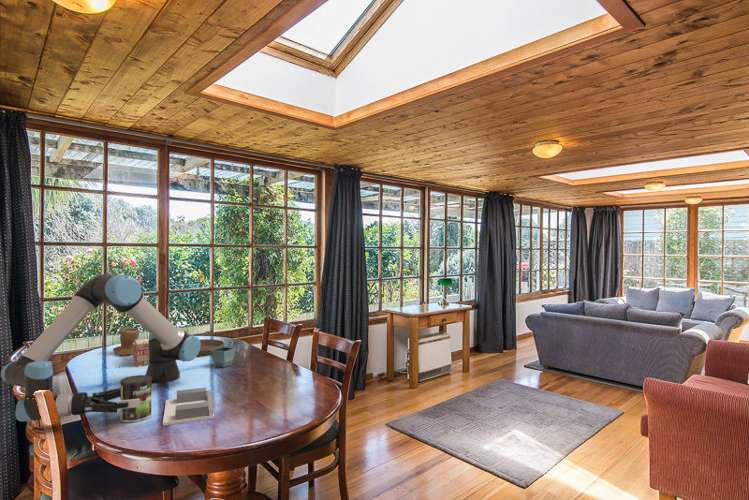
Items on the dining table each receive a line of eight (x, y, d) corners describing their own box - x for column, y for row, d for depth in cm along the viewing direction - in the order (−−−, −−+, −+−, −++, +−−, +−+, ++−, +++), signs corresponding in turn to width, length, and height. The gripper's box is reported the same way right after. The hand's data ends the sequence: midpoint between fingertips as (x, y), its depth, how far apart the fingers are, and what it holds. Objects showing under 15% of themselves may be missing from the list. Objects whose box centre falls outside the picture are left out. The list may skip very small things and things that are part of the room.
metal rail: (209, 416, 158) (209, 410, 158) (206, 395, 180) (206, 390, 180) (213, 415, 159) (213, 409, 159) (210, 394, 181) (210, 390, 181)
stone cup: (141, 354, 252) (141, 328, 252) (118, 357, 244) (118, 331, 244) (134, 349, 263) (134, 325, 263) (112, 352, 255) (112, 327, 255)
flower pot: (210, 367, 226) (210, 350, 226) (222, 363, 234) (222, 346, 234) (224, 369, 223) (224, 351, 223) (235, 364, 231) (235, 348, 231)
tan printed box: (132, 358, 243) (132, 336, 243) (145, 357, 247) (145, 335, 246) (136, 367, 225) (136, 343, 225) (150, 365, 229) (150, 342, 229)
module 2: (175, 420, 154) (175, 410, 154) (175, 415, 159) (175, 405, 159) (208, 415, 159) (208, 406, 159) (207, 410, 163) (207, 401, 163)
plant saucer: (167, 360, 239) (167, 352, 239) (169, 348, 267) (169, 341, 267) (226, 355, 252) (226, 347, 252) (222, 344, 280) (222, 337, 280)
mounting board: (162, 425, 152) (162, 422, 152) (166, 402, 175) (166, 399, 175) (214, 418, 159) (214, 415, 159) (211, 396, 182) (211, 394, 182)
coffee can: (157, 415, 161) (157, 377, 161) (129, 424, 152) (129, 385, 152) (142, 409, 167) (142, 373, 167) (114, 418, 158) (114, 380, 158)
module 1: (176, 403, 171) (176, 394, 171) (176, 399, 175) (177, 390, 175) (206, 399, 175) (206, 391, 175) (206, 395, 180) (206, 387, 180)
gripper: (81, 403, 163) (144, 395, 172) (63, 428, 140) (137, 419, 149) (81, 383, 163) (144, 377, 171) (63, 405, 140) (137, 397, 149)
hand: (141, 396), depth 160 cm, fingers open, 13 cm apart
